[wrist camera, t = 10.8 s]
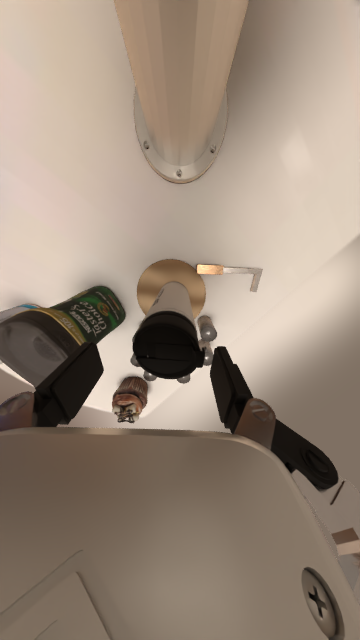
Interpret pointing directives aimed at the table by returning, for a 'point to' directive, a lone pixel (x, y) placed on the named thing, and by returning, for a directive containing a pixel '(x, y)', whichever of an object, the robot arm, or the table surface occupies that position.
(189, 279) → the round wooden board
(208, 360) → the spacer field
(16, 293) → the table surface
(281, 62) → the table surface
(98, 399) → the table surface
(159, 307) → the travel mug
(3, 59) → the table surface
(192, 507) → the robot arm
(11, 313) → the beverage bottle
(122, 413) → the cupcake
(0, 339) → the coffee jar
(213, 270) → the hook tool
